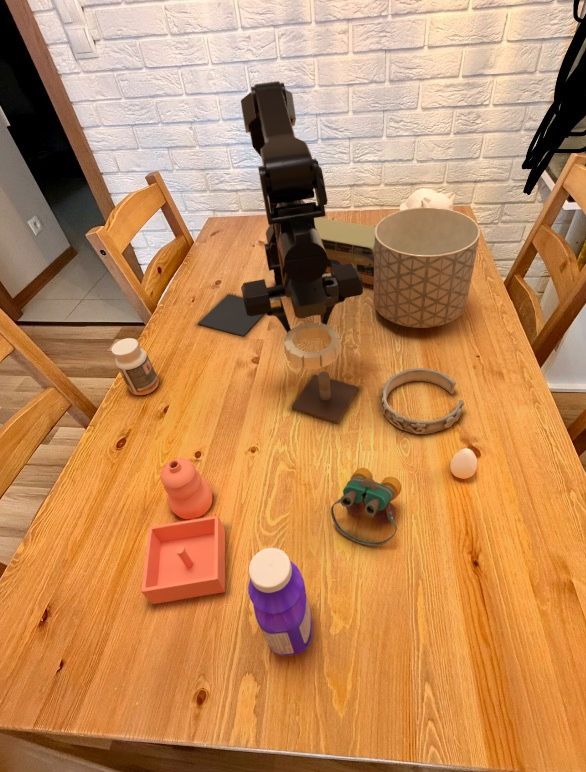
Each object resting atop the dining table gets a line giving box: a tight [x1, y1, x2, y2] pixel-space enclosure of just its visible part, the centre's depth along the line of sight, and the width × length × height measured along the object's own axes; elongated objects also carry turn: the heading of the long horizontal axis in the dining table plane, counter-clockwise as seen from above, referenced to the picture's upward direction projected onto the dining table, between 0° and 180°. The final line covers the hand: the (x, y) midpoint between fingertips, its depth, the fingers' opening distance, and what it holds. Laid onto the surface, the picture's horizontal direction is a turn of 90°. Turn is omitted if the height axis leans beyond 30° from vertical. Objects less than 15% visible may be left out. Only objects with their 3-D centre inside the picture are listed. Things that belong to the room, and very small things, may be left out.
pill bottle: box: [111, 337, 160, 396], centre depth 85 cm, size 6×6×10 cm
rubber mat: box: [197, 294, 265, 337], centre depth 102 cm, size 12×12×1 cm
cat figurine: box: [399, 187, 456, 211], centre depth 109 cm, size 25×10×17 cm, turn 8°
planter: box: [373, 207, 481, 329], centre depth 91 cm, size 19×19×18 cm
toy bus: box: [314, 217, 376, 286], centre depth 108 cm, size 10×23×10 cm, turn 58°
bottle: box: [247, 547, 314, 657], centre depth 50 cm, size 7×6×17 cm
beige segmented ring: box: [282, 322, 341, 370], centre depth 76 cm, size 9×9×2 cm
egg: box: [449, 447, 478, 480], centre depth 68 cm, size 4×4×6 cm
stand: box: [291, 370, 360, 425], centre depth 80 cm, size 9×9×6 cm
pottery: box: [141, 457, 226, 605], centre depth 63 cm, size 18×10×10 cm, turn 8°
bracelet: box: [381, 367, 465, 435], centre depth 79 cm, size 14×14×3 cm
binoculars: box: [330, 467, 402, 547], centre depth 62 cm, size 9×9×10 cm
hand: (306, 331), depth 79 cm, fingers closed on beige segmented ring, 5 cm apart
